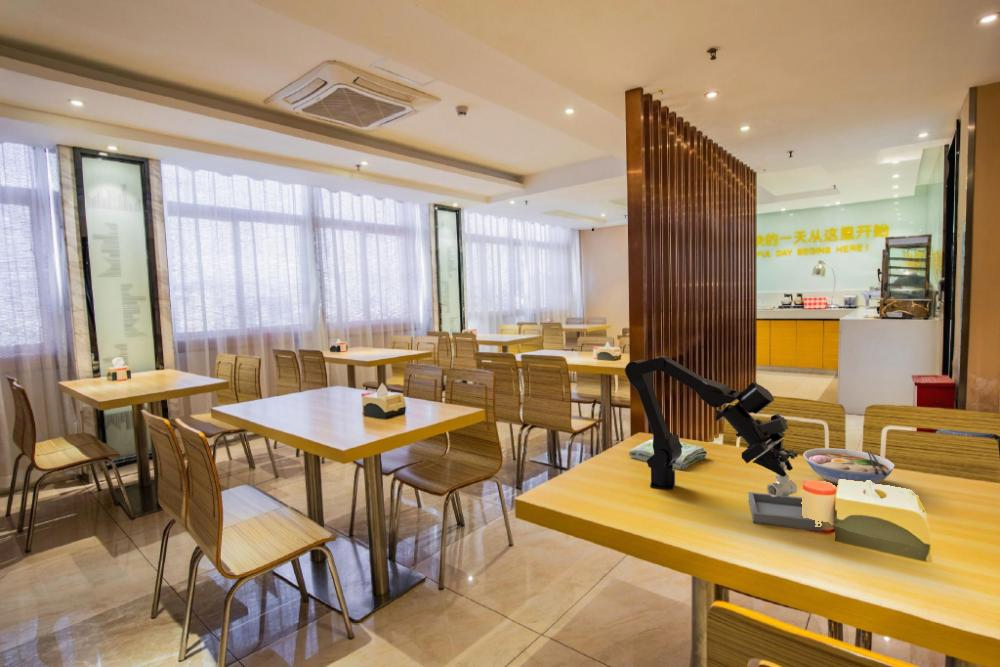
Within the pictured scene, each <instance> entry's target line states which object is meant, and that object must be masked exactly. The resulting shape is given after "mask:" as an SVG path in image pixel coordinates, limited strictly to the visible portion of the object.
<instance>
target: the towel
mask: <svg viewBox="0 0 1000 667" xmlns="http://www.w3.org/2000/svg"><path fill="white" fill-rule="evenodd" d="M679 441H680V444H681V445H682V446H683V447H682V448H681V450H682V454H681V456H680V457H679V458H678V459H677V460H676V462H675V463H674V464H673V469H674V470H685V469H686V468H688V467H689V466H691V465H693V464H695V463H696V462H698V461H700V460H701V461H702V460H703V459H705V458H706V456H707V455H708V451H707V450H705V449H704V447H703V446H700V445H694V444H691V443H687V442H684V441H681V440H679ZM653 455H654V450H653V438H651V439H649V440H647V441H644V442H642V443H641V444H639V445H637V446H635V447H633V448H631V449H630V450H629V452H628V456H629V457H630V458H631V459H635V460H638V461H642V462H646V463H647V460H648V459H649V458H650V457H651V456H653Z"/></svg>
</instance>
